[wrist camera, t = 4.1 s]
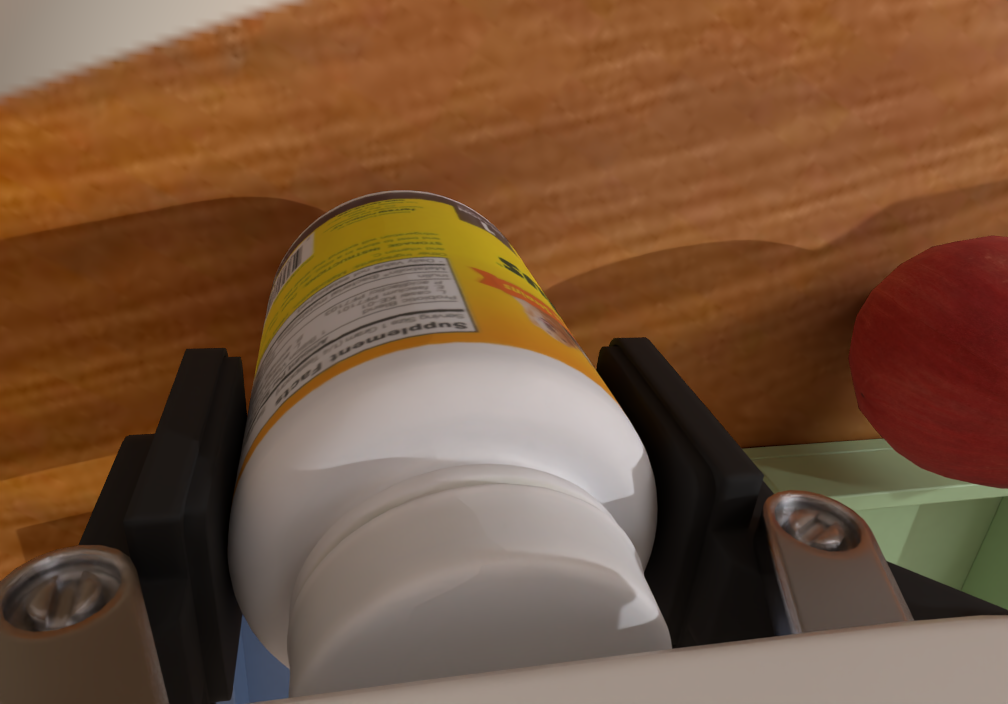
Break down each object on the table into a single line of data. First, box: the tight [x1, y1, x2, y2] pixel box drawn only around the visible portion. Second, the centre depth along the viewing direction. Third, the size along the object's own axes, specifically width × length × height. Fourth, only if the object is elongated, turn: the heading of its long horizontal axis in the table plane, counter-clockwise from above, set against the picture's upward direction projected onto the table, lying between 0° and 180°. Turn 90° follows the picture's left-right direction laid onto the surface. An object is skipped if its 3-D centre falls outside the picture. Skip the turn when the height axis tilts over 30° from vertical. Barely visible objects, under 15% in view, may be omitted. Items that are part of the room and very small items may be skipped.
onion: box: [848, 236, 1008, 489], centre depth 17 cm, size 6×6×8 cm
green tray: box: [742, 439, 1008, 610], centre depth 24 cm, size 11×11×3 cm
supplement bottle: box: [227, 190, 672, 698], centre depth 12 cm, size 6×6×10 cm
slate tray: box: [216, 615, 290, 704], centre depth 21 cm, size 11×11×3 cm
